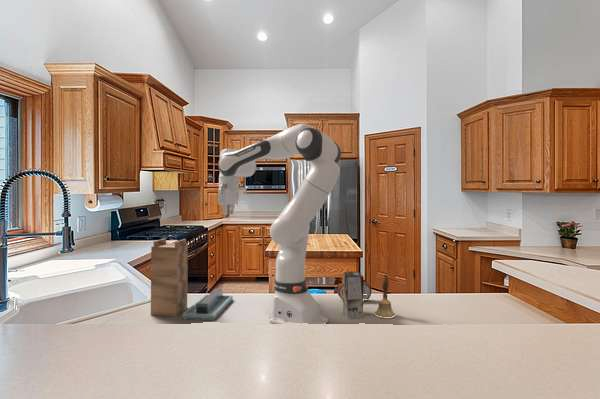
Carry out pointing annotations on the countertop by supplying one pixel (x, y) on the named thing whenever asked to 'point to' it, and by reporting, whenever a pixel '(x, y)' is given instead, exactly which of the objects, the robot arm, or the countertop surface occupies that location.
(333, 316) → the countertop surface
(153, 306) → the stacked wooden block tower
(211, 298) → the gray rectangular bar
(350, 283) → the coffee box
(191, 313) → the tray
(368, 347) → the countertop surface
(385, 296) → the hand bell
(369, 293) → the tin
